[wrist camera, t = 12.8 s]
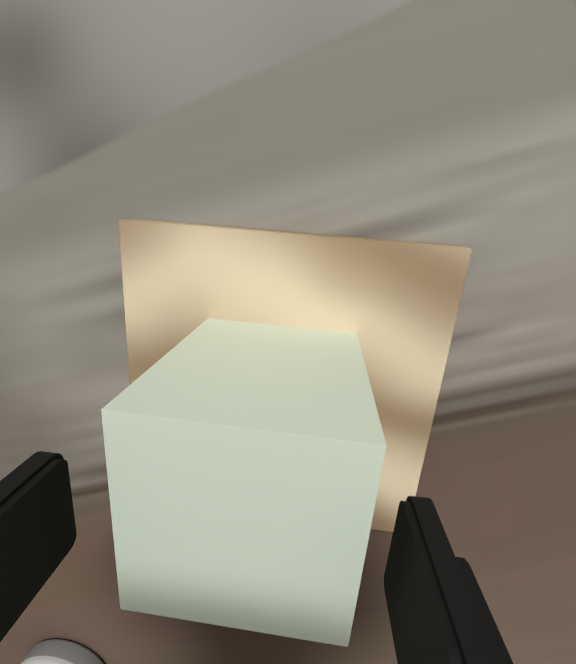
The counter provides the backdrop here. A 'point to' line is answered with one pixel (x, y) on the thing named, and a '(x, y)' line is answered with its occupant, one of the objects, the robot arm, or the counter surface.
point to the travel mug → (60, 653)
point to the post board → (308, 312)
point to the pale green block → (246, 480)
